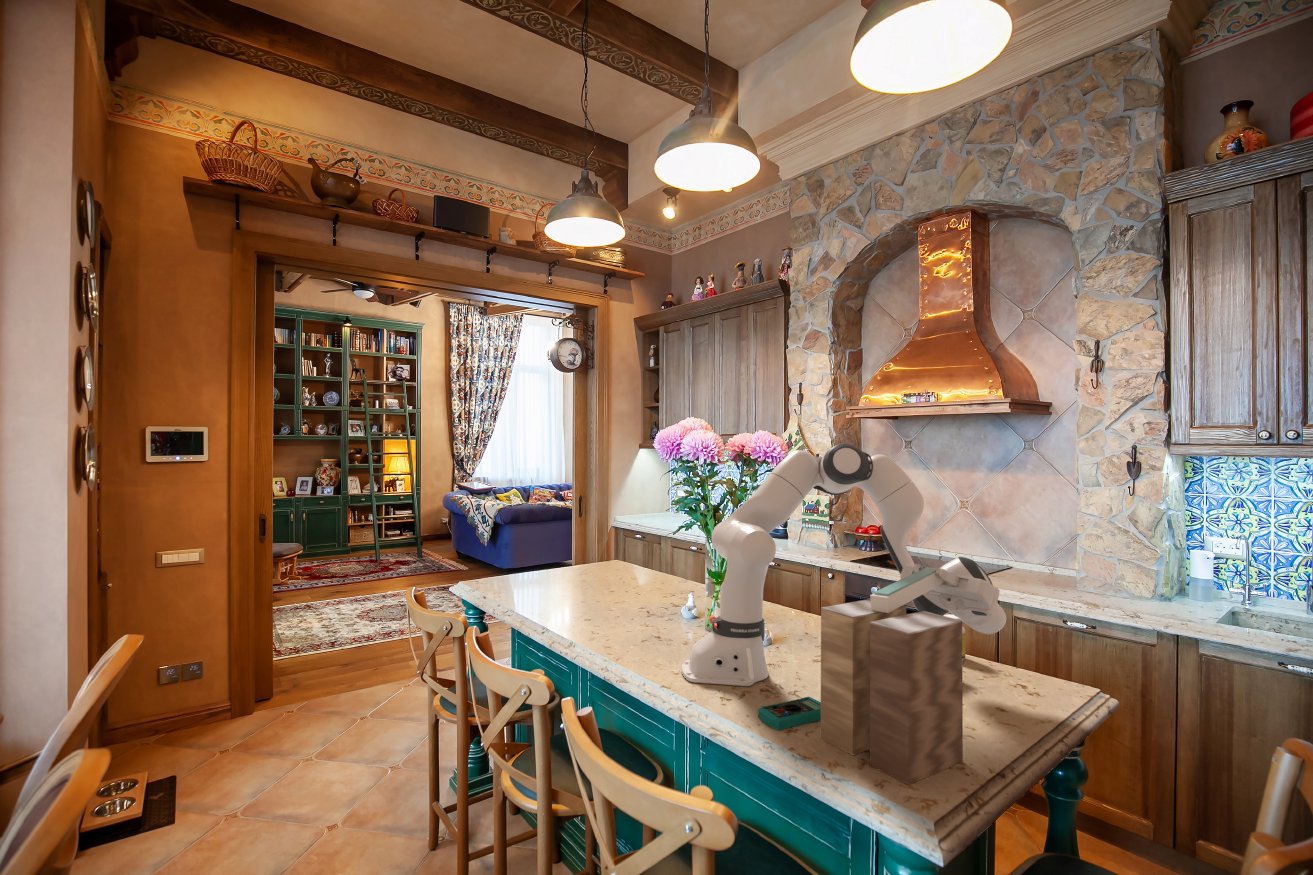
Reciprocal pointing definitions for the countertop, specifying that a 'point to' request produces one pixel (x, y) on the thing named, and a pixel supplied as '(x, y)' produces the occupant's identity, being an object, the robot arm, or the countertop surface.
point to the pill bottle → (962, 634)
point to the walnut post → (916, 695)
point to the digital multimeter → (791, 713)
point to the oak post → (847, 673)
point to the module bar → (905, 590)
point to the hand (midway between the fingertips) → (927, 569)
